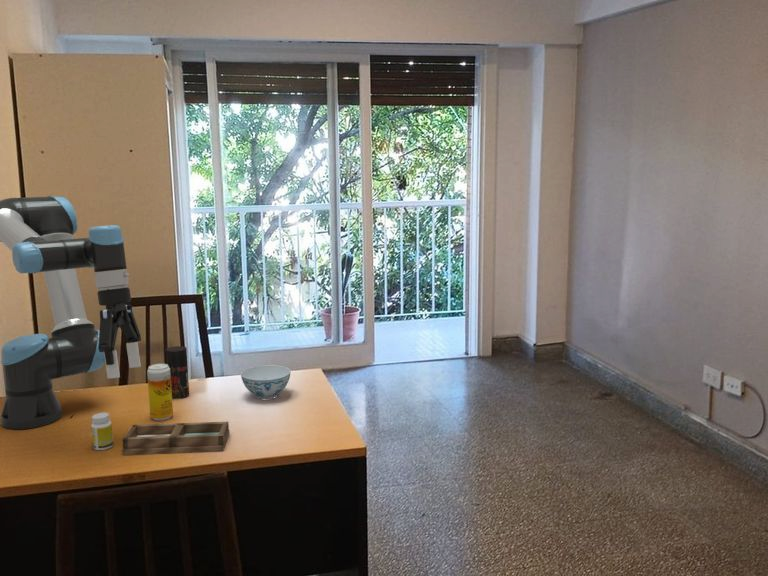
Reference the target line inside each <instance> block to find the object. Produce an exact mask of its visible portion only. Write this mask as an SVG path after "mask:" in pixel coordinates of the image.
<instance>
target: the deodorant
mask: <svg viewBox="0 0 768 576" xmlns="http://www.w3.org/2000/svg"><path fill="white" fill-rule="evenodd" d="M165 352H166V354H165V355H166V364H167V365H168V366H169V368H170V375H171V390H172V400H180V399H187V398H188V397H189V396H190V382H189V368H188V367H189V365H188V350H187V346H183V345H179V346H178V345H177V346H169V347H167V348H166V349H165Z"/></svg>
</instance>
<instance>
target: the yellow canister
mask: <svg viewBox="0 0 768 576" xmlns="http://www.w3.org/2000/svg"><path fill="white" fill-rule="evenodd" d="M146 372H147V373H146V374H147V387H148V404H149V416H150V418H151V419H152V420H153V421H156V422H158V421H159V422H162V421H166V420H169V419H171V418H172V416H173V414H174V408H173V399H172V390H171V375H170V368H169V366H168V365H167V363H155V364H151V365H149V366H148V368H147V371H146Z"/></svg>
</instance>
